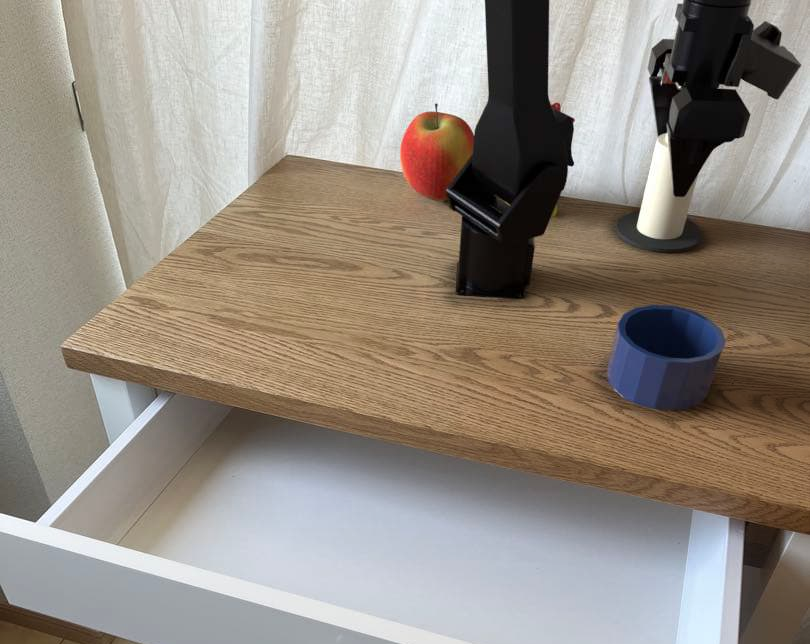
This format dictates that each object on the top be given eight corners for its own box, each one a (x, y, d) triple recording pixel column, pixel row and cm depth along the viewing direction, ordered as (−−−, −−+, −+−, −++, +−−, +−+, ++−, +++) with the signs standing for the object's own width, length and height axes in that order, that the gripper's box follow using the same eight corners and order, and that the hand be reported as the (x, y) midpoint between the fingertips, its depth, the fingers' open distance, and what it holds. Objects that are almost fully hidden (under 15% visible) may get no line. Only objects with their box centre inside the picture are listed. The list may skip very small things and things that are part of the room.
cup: (611, 411, 66) (624, 358, 63) (601, 353, 72) (613, 301, 69) (715, 418, 66) (734, 365, 62) (697, 359, 72) (714, 307, 68)
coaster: (620, 250, 85) (621, 246, 85) (611, 211, 92) (612, 208, 91) (708, 255, 85) (709, 251, 85) (693, 216, 91) (694, 212, 91)
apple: (487, 196, 94) (496, 102, 86) (439, 219, 89) (444, 121, 82) (434, 175, 97) (438, 82, 90) (386, 195, 93) (386, 100, 86)
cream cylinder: (639, 238, 86) (668, 116, 78) (634, 217, 90) (661, 99, 81) (685, 241, 86) (719, 119, 78) (678, 220, 90) (710, 101, 81)
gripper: (840, 34, 66) (773, 223, 77) (784, -24, 79) (733, 145, 90) (700, 28, 67) (654, 216, 78) (666, -29, 79) (631, 140, 91)
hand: (672, 177), depth 84 cm, fingers open, 9 cm apart
